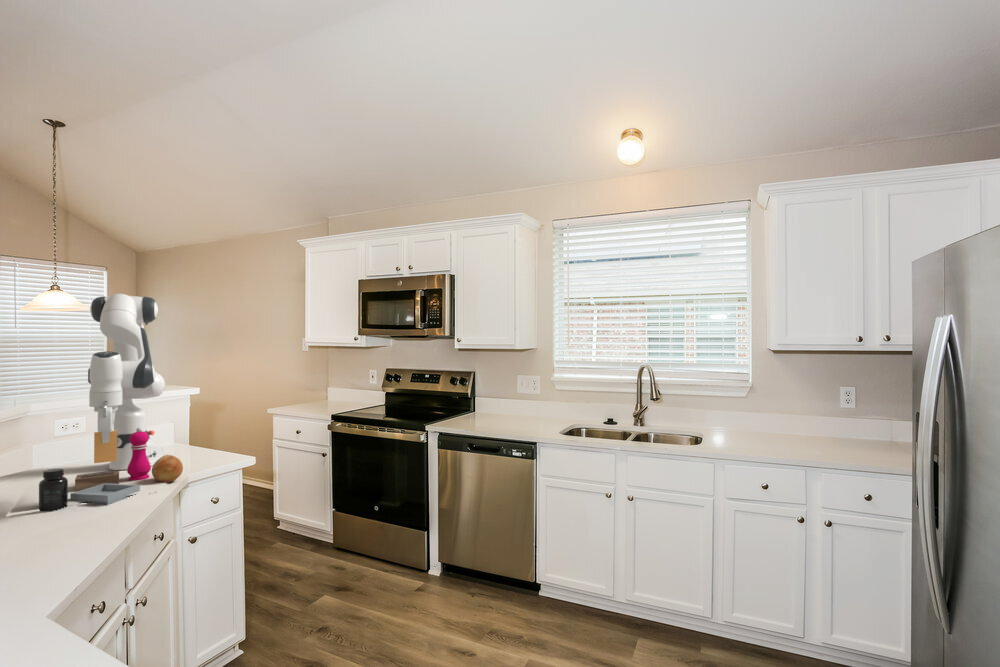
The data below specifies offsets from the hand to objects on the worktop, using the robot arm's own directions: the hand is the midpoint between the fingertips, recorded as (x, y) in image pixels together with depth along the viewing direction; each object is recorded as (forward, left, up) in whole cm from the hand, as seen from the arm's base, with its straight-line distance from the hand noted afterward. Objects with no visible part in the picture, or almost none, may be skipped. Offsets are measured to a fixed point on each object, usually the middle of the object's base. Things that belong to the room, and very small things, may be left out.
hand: (105, 442), depth 172 cm
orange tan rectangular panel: (0, 0, -7) cm, 7 cm away
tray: (0, 0, -19) cm, 19 cm away
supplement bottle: (+11, -7, -19) cm, 23 cm away
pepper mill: (-20, -7, -19) cm, 29 cm away
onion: (-20, +5, -19) cm, 28 cm away
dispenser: (-9, -13, -19) cm, 25 cm away
